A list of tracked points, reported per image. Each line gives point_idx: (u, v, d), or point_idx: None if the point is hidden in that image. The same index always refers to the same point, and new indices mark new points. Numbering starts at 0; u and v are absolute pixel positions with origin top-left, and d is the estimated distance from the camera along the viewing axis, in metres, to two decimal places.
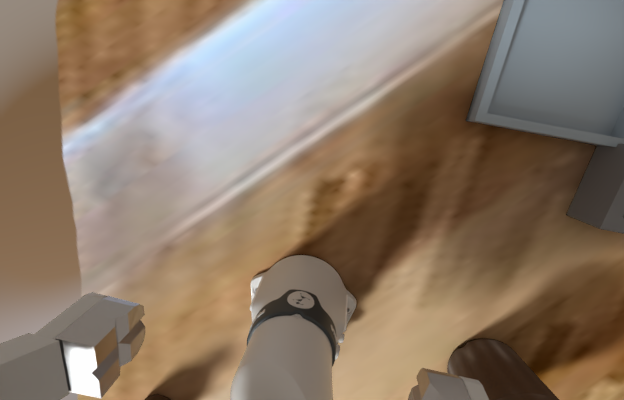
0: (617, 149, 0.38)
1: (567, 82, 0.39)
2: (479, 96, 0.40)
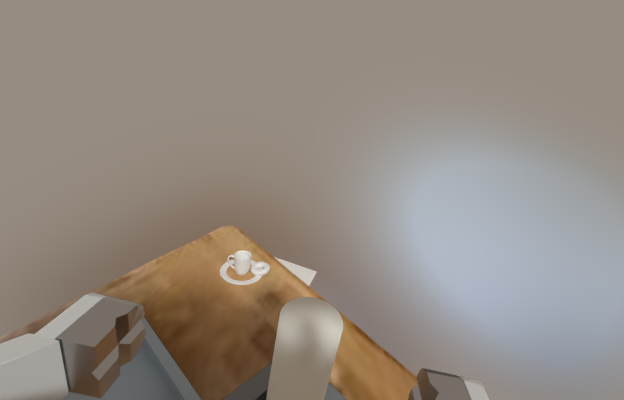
0: None
1: None
2: None
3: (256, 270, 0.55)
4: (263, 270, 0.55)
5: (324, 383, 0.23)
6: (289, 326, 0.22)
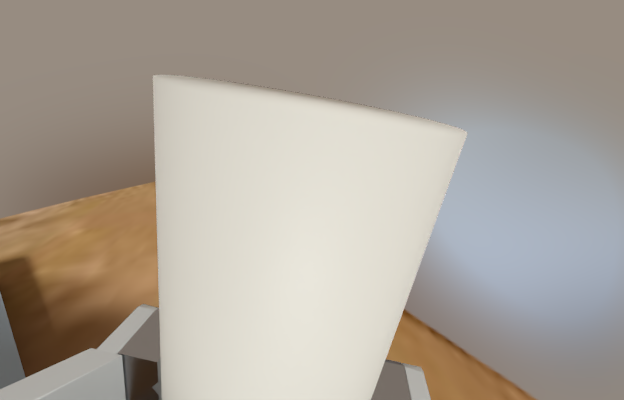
0: None
1: None
2: None
3: None
4: None
5: (370, 385, 0.05)
6: (199, 84, 0.04)
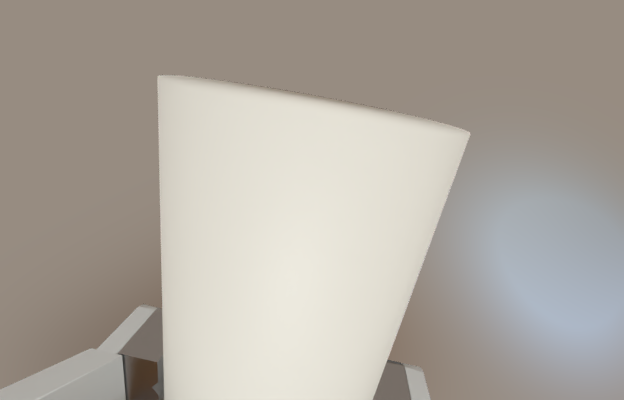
0: None
1: None
2: None
3: None
4: None
5: (372, 384, 0.05)
6: (203, 85, 0.04)
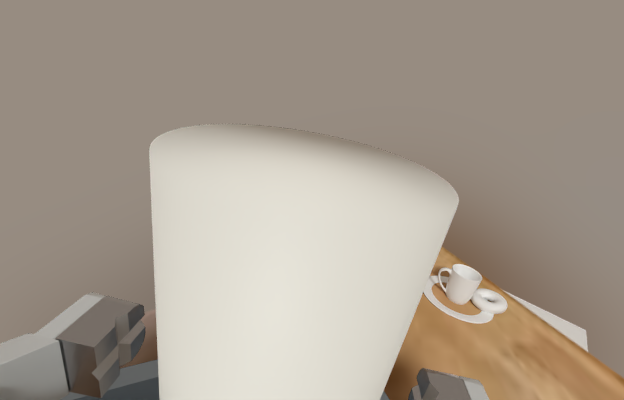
0: None
1: None
2: None
3: (486, 302, 0.33)
4: (499, 305, 0.32)
5: None
6: (195, 155, 0.04)
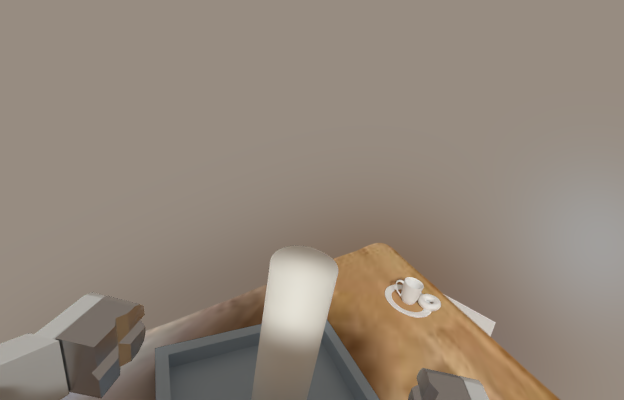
0: None
1: None
2: None
3: (426, 303, 0.49)
4: (434, 305, 0.48)
5: (318, 332, 0.22)
6: (281, 269, 0.20)
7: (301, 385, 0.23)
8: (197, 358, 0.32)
